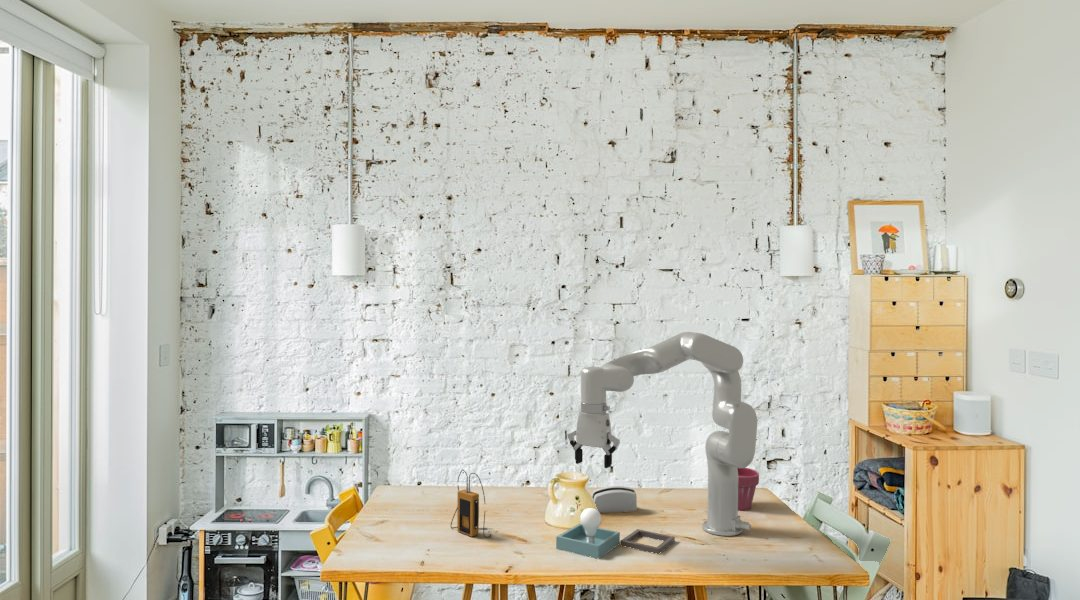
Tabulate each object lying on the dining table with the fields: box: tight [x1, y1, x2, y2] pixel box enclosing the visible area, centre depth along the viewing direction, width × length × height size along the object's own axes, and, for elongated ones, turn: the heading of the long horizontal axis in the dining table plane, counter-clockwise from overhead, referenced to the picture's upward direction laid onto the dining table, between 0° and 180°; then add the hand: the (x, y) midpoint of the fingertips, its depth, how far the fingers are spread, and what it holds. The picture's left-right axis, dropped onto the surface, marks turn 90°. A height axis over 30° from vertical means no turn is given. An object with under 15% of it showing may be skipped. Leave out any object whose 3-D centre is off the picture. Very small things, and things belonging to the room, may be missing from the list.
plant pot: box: [737, 467, 760, 511], centre depth 253 cm, size 14×14×13 cm
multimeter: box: [450, 469, 492, 538], centre depth 225 cm, size 15×10×20 cm
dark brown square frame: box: [619, 528, 676, 555], centre depth 215 cm, size 12×12×2 cm
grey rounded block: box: [591, 485, 638, 514], centre depth 247 cm, size 17×5×10 cm, turn 101°
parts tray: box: [555, 523, 621, 559], centre depth 212 cm, size 14×14×4 cm
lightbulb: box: [579, 507, 602, 544], centre depth 212 cm, size 6×6×11 cm
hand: (593, 465), depth 213 cm, fingers open, 9 cm apart
